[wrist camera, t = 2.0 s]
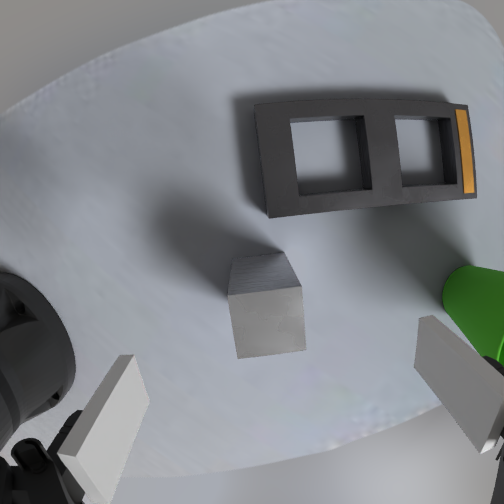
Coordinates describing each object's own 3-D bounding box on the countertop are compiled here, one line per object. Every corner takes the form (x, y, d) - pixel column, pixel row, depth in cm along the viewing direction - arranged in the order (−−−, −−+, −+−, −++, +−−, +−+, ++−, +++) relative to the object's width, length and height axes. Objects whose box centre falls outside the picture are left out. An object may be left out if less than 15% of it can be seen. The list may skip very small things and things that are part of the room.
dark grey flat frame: (266, 215, 24) (268, 218, 22) (253, 110, 23) (254, 104, 21) (463, 196, 24) (477, 198, 22) (454, 108, 23) (468, 104, 20)
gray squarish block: (239, 306, 26) (237, 358, 18) (232, 258, 25) (227, 295, 17) (289, 300, 26) (306, 350, 18) (284, 252, 25) (301, 286, 17)
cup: (408, 293, 26) (479, 352, 16) (471, 224, 25) (556, 251, 14) (447, 349, 28) (507, 408, 17) (502, 287, 27) (572, 326, 16)
